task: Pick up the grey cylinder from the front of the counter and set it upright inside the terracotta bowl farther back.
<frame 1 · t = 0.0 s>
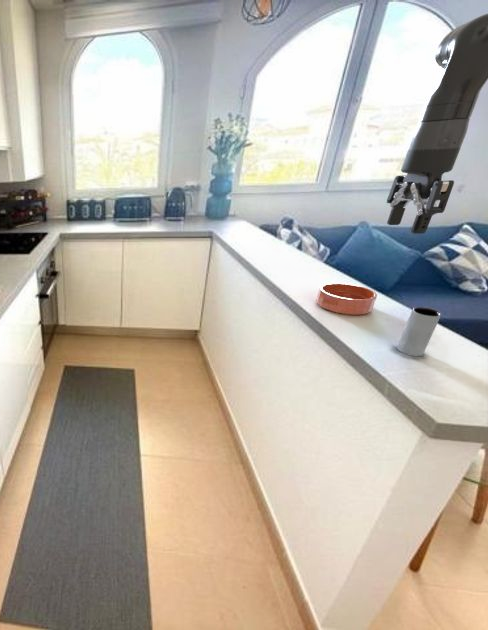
hand: (404, 228, 75), 27 cm above the table, tool pointing down, fingers open, 8 cm apart
bowl: (342, 306, 102), on the table
grey cylinder: (409, 351, 80), on the table
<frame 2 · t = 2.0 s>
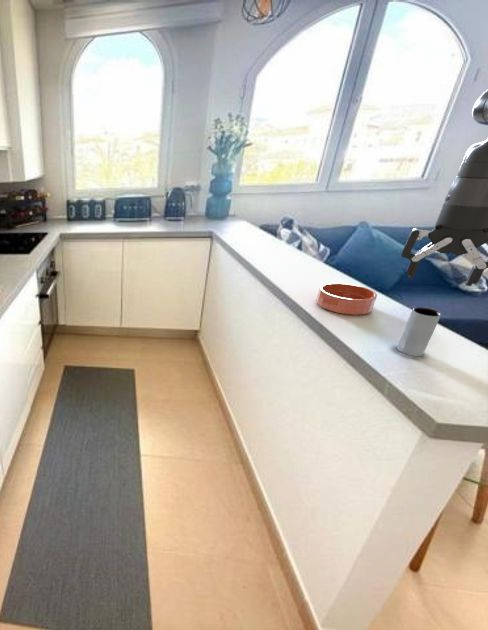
hand: (438, 280, 73), 17 cm above the table, tool pointing down, fingers open, 8 cm apart
nothing on the table moved.
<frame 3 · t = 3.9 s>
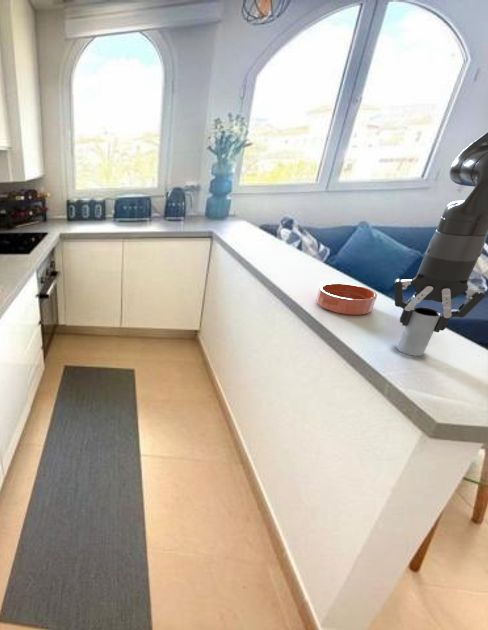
hand: (419, 327, 77), 6 cm above the table, tool pointing down, fingers closed on grey cylinder, 4 cm apart
grey cylinder: (409, 351, 80), on the table, touching gripper
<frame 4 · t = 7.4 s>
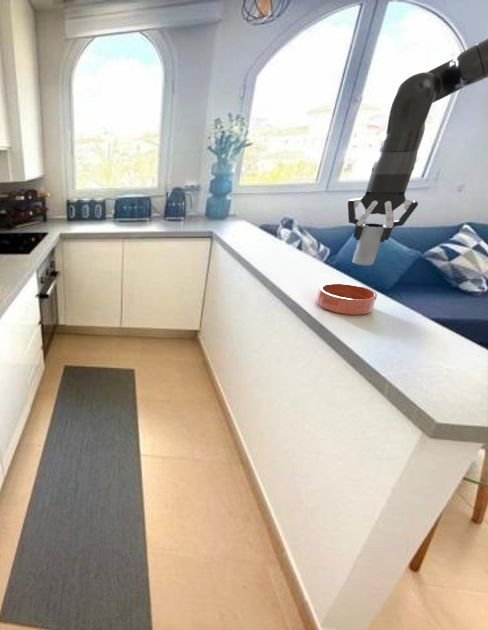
hand: (369, 240, 91), 21 cm above the table, tool pointing down, fingers closed on grey cylinder, 4 cm apart
grey cylinder: (362, 263, 94), point 14 cm above the table, touching gripper
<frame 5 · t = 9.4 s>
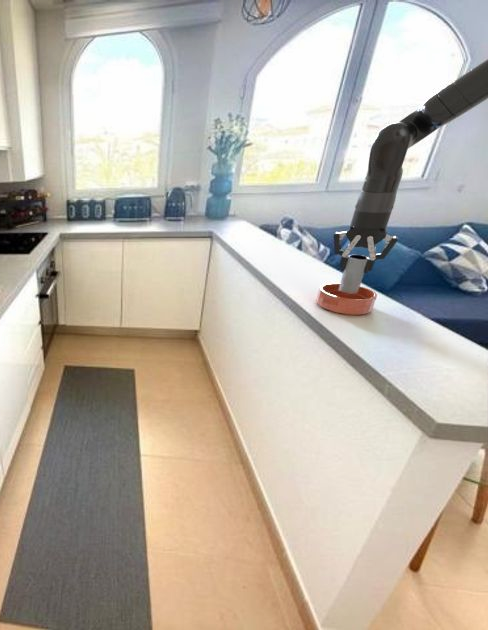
hand: (354, 270, 97), 11 cm above the table, tool pointing down, fingers closed on grey cylinder, 4 cm apart
grey cylinder: (347, 291, 100), point 5 cm above the table, touching gripper
when the fingers open (7 cm above the table, at t = 11.0 s): grey cylinder stays where it is, resting on bowl.
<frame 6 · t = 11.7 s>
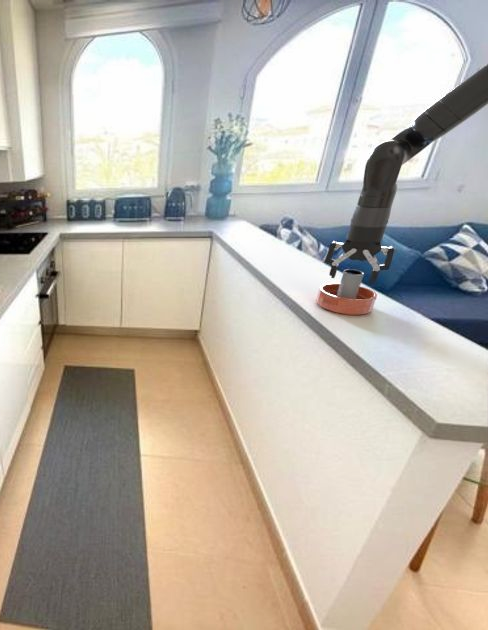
hand: (351, 279, 99), 8 cm above the table, tool pointing down, fingers open, 8 cm apart
grey cylinder: (343, 305, 102), resting on bowl
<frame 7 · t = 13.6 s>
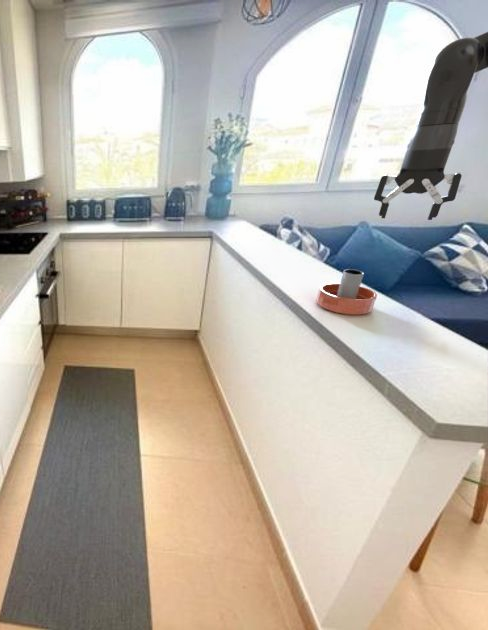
hand: (405, 218, 86), 26 cm above the table, tool pointing down, fingers open, 8 cm apart
nothing on the table moved.
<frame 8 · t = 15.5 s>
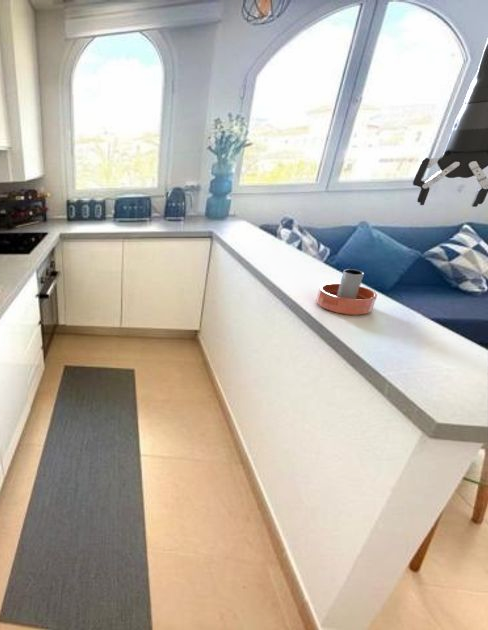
hand: (446, 205, 80), 30 cm above the table, tool pointing down, fingers open, 8 cm apart
nothing on the table moved.
at the end: grey cylinder inside the target area in the bowl (0.1 cm from its centre), point 0.4 cm above the bowl's base; grey cylinder tilted 0°; the gripper is holding nothing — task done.
